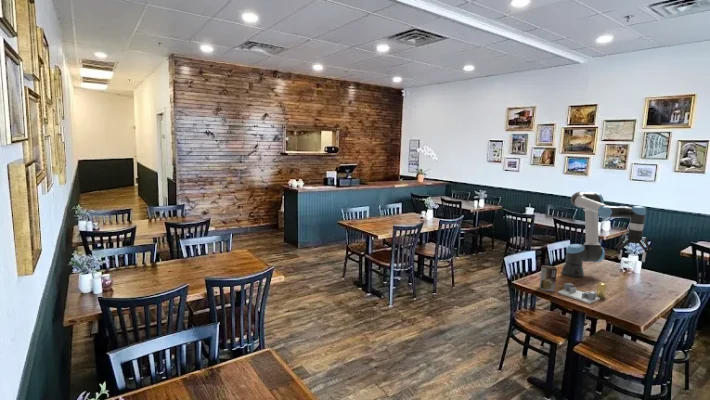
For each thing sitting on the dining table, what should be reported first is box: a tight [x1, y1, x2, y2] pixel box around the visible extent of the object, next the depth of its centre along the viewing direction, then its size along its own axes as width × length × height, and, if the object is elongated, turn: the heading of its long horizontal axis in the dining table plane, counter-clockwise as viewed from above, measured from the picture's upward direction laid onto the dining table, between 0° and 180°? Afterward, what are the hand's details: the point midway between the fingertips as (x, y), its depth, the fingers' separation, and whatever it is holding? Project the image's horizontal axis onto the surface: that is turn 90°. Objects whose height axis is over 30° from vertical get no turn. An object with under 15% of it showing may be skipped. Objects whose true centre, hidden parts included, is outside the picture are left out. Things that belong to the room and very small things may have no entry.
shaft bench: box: [557, 282, 601, 305], centre depth 258 cm, size 20×14×6 cm
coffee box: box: [539, 264, 558, 292], centre depth 268 cm, size 9×6×16 cm
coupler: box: [596, 281, 608, 299], centre depth 259 cm, size 5×5×9 cm
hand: (631, 260), depth 261 cm, fingers open, 13 cm apart
